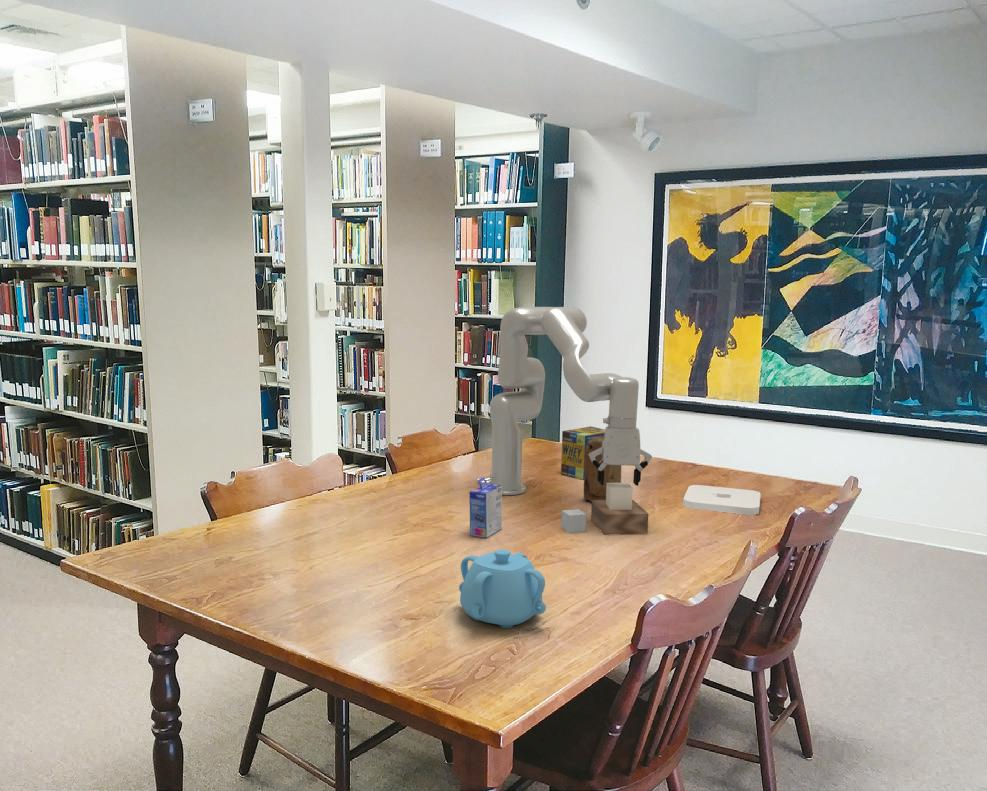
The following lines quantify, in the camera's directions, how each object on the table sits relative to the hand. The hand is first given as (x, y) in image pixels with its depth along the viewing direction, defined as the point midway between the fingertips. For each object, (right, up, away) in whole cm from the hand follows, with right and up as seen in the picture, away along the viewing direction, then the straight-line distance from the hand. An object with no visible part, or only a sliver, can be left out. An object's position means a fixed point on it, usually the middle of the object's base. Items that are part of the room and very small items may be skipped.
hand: (618, 484), depth 226 cm
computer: (+36, -9, +28) cm, 47 cm away
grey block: (-13, -12, -3) cm, 18 cm away
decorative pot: (-33, -20, -60) cm, 72 cm away
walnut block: (0, -12, +1) cm, 12 cm away
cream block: (0, -6, +1) cm, 6 cm away
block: (-2, -8, +26) cm, 27 cm away
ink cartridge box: (-37, -12, -6) cm, 39 cm away
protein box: (-2, -3, +62) cm, 62 cm away
